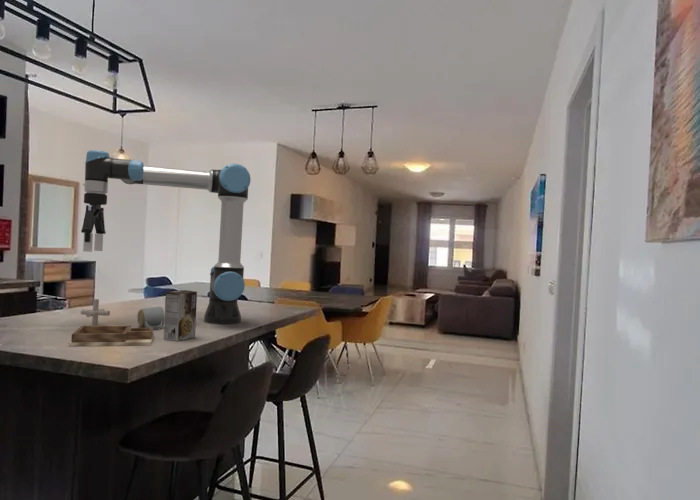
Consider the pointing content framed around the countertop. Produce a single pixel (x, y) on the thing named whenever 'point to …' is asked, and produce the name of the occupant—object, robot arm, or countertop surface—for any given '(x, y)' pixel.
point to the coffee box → (180, 315)
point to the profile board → (111, 336)
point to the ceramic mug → (151, 318)
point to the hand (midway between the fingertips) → (93, 251)
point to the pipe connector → (95, 312)
